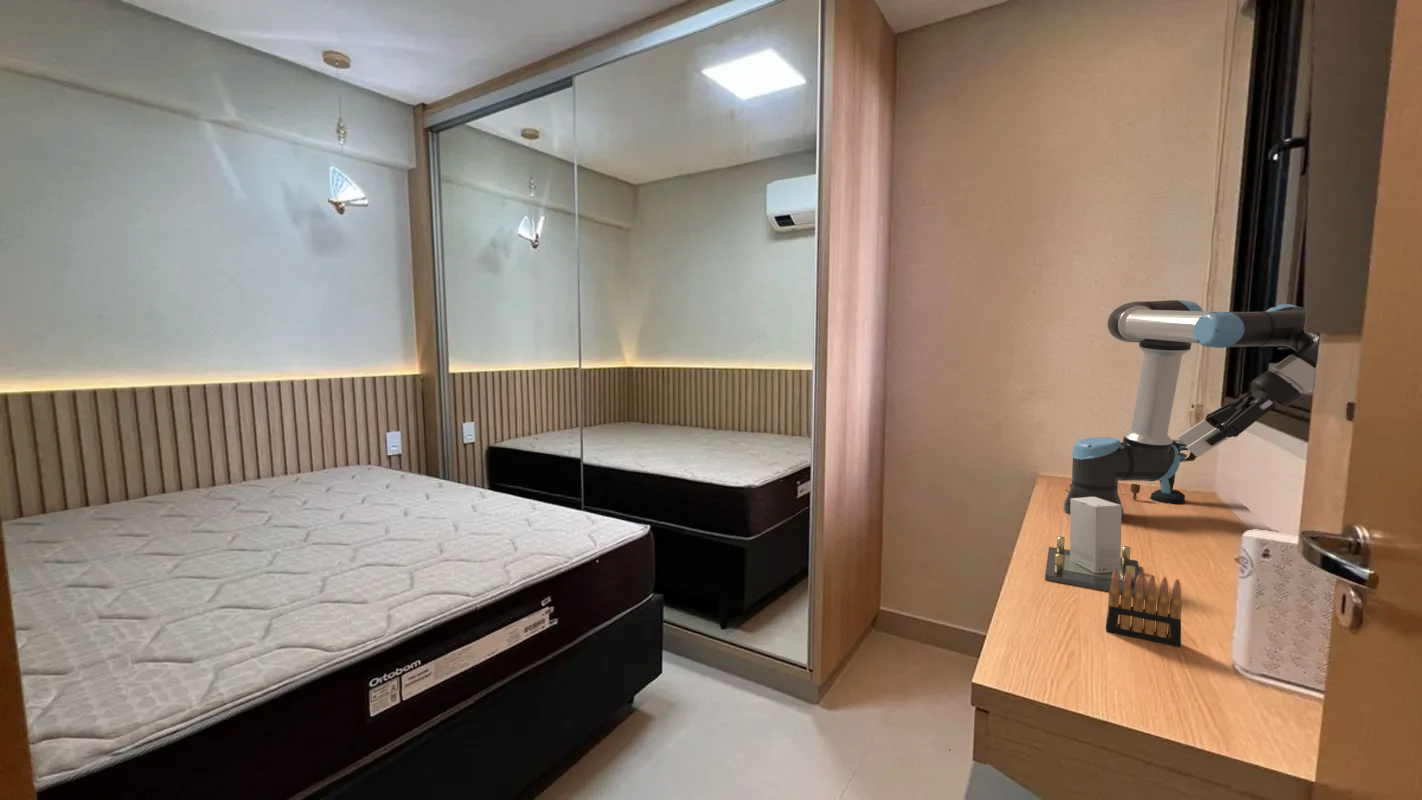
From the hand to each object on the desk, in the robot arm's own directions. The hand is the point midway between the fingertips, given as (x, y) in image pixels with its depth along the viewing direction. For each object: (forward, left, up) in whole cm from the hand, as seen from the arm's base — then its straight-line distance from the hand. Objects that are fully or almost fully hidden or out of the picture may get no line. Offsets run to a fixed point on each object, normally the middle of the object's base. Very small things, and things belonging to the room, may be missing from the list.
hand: (1186, 447), depth 125 cm
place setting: (-69, -14, -30) cm, 77 cm away
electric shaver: (-71, +7, -30) cm, 77 cm away
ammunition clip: (+39, -9, -30) cm, 50 cm away
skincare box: (+10, -16, -28) cm, 34 cm away
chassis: (+10, -17, -29) cm, 35 cm away
